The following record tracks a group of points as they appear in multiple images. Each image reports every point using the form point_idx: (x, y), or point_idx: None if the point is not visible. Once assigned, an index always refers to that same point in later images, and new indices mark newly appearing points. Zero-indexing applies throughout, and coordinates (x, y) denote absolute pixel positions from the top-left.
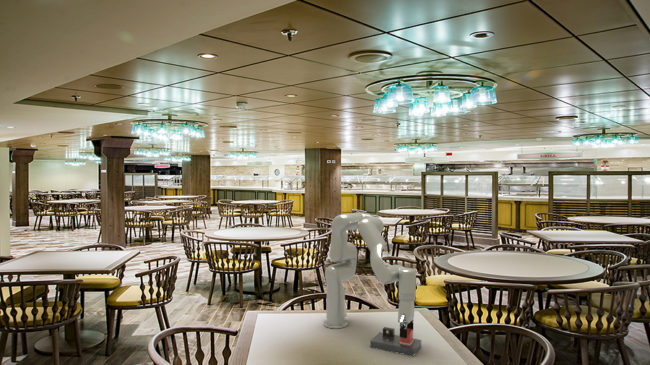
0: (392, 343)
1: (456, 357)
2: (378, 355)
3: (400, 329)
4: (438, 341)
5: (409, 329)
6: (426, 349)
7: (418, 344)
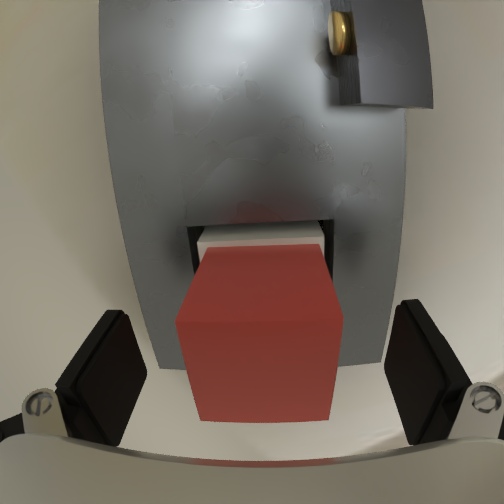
0: (151, 177)
1: None
2: (43, 124)
3: (67, 380)
4: (475, 366)
5: (307, 397)
6: None
7: None
